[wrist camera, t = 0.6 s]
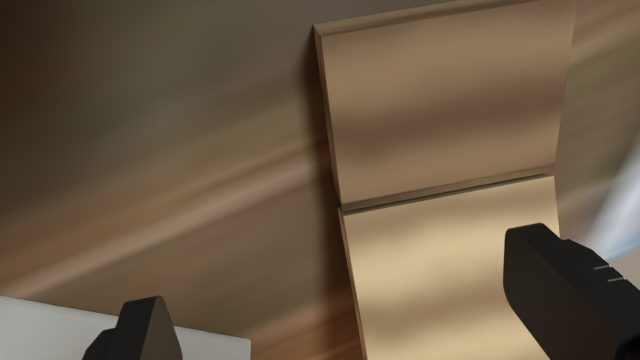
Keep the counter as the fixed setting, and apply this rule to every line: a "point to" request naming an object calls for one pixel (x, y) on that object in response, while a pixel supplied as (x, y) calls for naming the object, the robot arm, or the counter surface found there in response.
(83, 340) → the decorative molding
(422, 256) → the oak plank
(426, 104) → the wooden block
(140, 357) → the robot arm
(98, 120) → the counter surface
